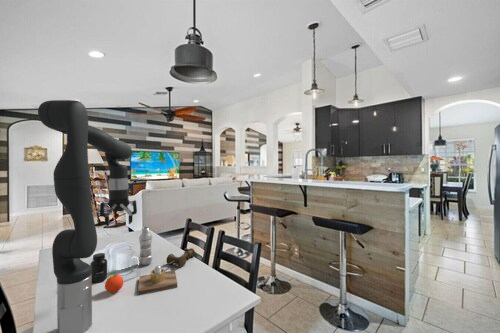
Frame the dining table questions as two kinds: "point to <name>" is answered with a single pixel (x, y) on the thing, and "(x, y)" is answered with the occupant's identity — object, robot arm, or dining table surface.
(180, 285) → the dining table surface
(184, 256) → the kendama
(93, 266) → the supplement bottle
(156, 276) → the brass ring
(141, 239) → the plastic bottle
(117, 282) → the clementine
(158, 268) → the steel post
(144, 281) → the walnut base plate
